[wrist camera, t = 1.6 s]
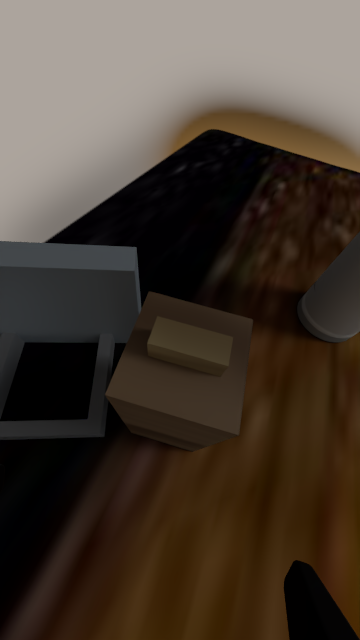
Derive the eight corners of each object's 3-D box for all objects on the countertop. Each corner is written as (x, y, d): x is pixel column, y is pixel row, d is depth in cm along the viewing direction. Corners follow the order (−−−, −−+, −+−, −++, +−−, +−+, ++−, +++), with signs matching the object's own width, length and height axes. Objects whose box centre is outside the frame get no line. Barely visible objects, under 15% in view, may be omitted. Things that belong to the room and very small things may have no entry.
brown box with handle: (192, 451, 19) (250, 431, 8) (131, 432, 19) (98, 385, 8) (205, 389, 21) (263, 304, 10) (151, 373, 22) (148, 273, 10)
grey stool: (137, 435, 19) (123, 411, 10) (-59, 441, 18) (-258, 419, 9) (142, 324, 24) (136, 247, 16) (-9, 322, 23) (-107, 236, 14)
